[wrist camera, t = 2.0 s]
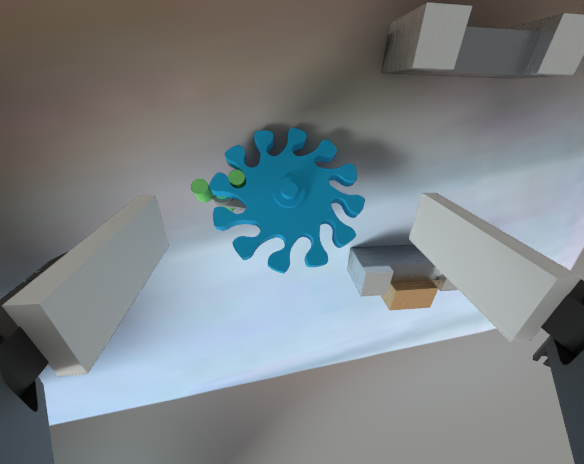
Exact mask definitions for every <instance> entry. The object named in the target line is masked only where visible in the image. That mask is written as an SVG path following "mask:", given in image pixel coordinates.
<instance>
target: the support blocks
mask: <svg viewBox="0 0 584 464" xmlns="http://www.w3.org/2000/svg"><path fill="white" fill-rule="evenodd" d="M471 9H472V6H467V5H454V4H441V3H428V2H427V3H425V4H423V5H421V6H420V7H418V8H416V9H414V10H412V11H411V12H409V13H407V14H405V15H403V16H402V17H400V18H398V19H396V20H394V21H392V22H391V23H390V27H389V33H388V39H387V44H386V50H385V56H384V62H383V67H382V73H394V74H418V75H442V76H466V77H490V78H514V79H515V78H531V77H547V76H563V75H574V73H575V71H576V69H577V67H578V65H579V63H580V61H581V59H582V57H583V55H584V15H582V14H570V13H562V14H559V15H555V16H551V17H547V18H544V19H540V20H536V21H532V22H529V23H525V24H521V25H517V26H514V27H510V28H506V29H499V28H484V27H469V26H467V23H468V19H469V16H470V13H471ZM347 270H348V272H349V274H350V276H351V278H352V280H353V282H354V284H355V286H356V288H357V290H358V292H359V294H360V296H375V295H381V297H382V299H383V300H384V302H385V304H386V305H387V307H388V309H389V310H401V309H415V308H428V307H430V306H431V304H432V302H433V299H434V297H435V295H436V292H437V290H438V288H439V290H440V291H450V290H458V289H457V288H456V287H455V285H454V284H453V283H452V282H451V281H450V280H449V279H448V278H447V277H446V276H445V275H444V274H443V273H442V272H441V271H440V270H439V269H438V268H437V267H436V266H435V265H434V264H433V263H432V262H431V261H430V260H429V259H428V258H427V257H426V256H425V255H424V254H423V253H422V252H421V251H420V250H419V249H418V248H417V247H416V246H415V245H402V246H379V247H356V248H351V250H350V256H349V262H348V267H347Z"/></svg>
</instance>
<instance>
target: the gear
mask: <svg viewBox="0 0 584 464" xmlns="http://www.w3.org/2000/svg"><path fill="white" fill-rule="evenodd" d="M273 137H274V136H273V133H272V131H256V132H255V134H254V140H255V146H256V148H257V149H258V151H259V153H260V162H259V164H258V165H257V166H256V167H252V168H251V167H248V166H246V165H245V163H246V156H245V150H244V148H243V147H242V146H240V145H237V146H234V147H232V148H230V149H229V150H227V151H226V152H225V156H226V160H227V163H228V164H229V166H231V167H233V168H235V169H236V170H233V171H232V172H230V174H229V176H228V177H227V176H226V175H225V174H223V173H217V174H215V176H214V177H213V178H212V180H211V182H210V185H208V183H207V182H206V181H205V180H204V179H197V180H195V181H193V182H192V184H191V190H192V191H193V193H194V194H195V196H196V197H197V198H198V200H199V201H201V202H208V201H210V200H211V199H213V200H214V202H215V203H216V204H217V205H219V206H222V207H216V208H214V211H213V221H214V226H215V227H216V229H217V230H221V231H224V230H228V229H229V228H231V227H233V226H235V225H239V224H250V225H256V226H258V227H259V228H260V230H261V231H260V233H259V235H258V236H256V237H246V236H241V237H238V238H236V239H235V240H234V241H233V246H234V248H235V250H236V252H237V253H238V254H239V256H240V257H241V258H242V259H243V260H247V259H249V258H251V257H252V256H253V254H254V252H255V250H256V249H257V248H258V247H259V246H260V245H261V244H262V243H263V242H265V241H267V240H270V239H272V238H275V237H278V238H281V239H282V240H283V241H284V243H285V247H284V248H283V249H282V250H279V251H277V252H274V253H273V254H271V255H270V257H269V259H268V266H269V267H270V268H271V269H273V270H275V271H277V272H280V273H283V274H284V273H285V272H286V271H287V270H288V268H289V266H290V251H291V248H292V246H293V244H294V243H295V242H296V241H297V239H298V238H300V237H307V238H308V239H310V241H311V244H312V245H311V248H310V250H309V251H308V253H307V254H306V256H305V264H306V266H307V267H319V266H323V265H325V264H327V262H328V255H327V253H326V251H325V250H324V249H323V247H322V245H321V242H320V236H319V232H320V225H321V224H328V225H330V226H331V227H332V230H333V235H332V240H333V243H334V244H335V246H336V247H338V248H340V247H343V246H345V245H346V244H347V243H349V242H350V241H351V240H353V239H354V237H355V236H356V233H355V231H354V230H353V229H352V228H351V227H349V226H347V225H345V224H344V223H342V222H341V221H340V220H339V219H338V218H337V216H336V215H335V213H334V211H333V209H332V206H331V203H339V204H340V205H341V206H342V208H343V210H344V212H345V213H346V215H348V216H349V217H352V218H355V217H356V216H357V215H358V214H359V213H360V212H361V211H362V209H363V206H364V203H365V199H364V198H363V197H362V196H359V195H347V194H344V193H342V192H339V191H338V190H336V189H335V188H334V187H332V186H331V185H330V183H329V180H336V181H337V182H339V183H340V184H341V185H343V186H351V185H353V184H354V182H355V181H356V180H357V172H356V169H355V166H354V165H353V164H345V165H343V166H342V167H339V168H336V169H326V168H320V167H318V166H317V165H316V164H315V162H316V161H322V162H330V161H332V160H333V159H334V157H335V155H336V153H337V149H336V147H335V146H334V145H333V143H332V142H331V141H329V140H328V139H325V140H323V141H321V143H320V144H319V146H318V147H317V149H316V150H315V151H313V152H312V153H310V154H307V155H304V156H296V155H294V154H293V151H295V150H299V149H301V148H303V147H304V145H305V142H306V137H307V134H306V133H305V132H304V131H302V130H300V129H297V128H294V127H292V128H291V129H290V130H289V132H288V139H287V146H286V147H285V149H284V150H283V151H282V152H281V153H280V154H279V155H277V156H271V155H269V154H268V152H269V151H270V150H271V148H272V147H273ZM228 178H229V179H228ZM234 209H240V210H245V211H244V212H243V213H241V214H234V213H233V212H232V211H233V210H234Z"/></svg>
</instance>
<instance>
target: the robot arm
mask: <svg viewBox="0 0 584 464" xmlns="http://www.w3.org/2000/svg"><path fill="white" fill-rule="evenodd" d="M409 240H410V241H411V242H412V243H413V244H414V245H415V246H416V247H417V248H418V249H419V250H420V251H421V252H422V253H423V254H424V255H425V256H426V257H427V258H428V259H429V260H430V261H431V262H432V263H433V264H434V265H435V266H436V267H437V268H438V269H439V270H440V271H441V272H442V273H443V274H444V275H445V276H446V277H447V278H448V279H449V280H450V281H451V282H452V283H453V284H454V285H455V287H456V288H457V289H458V290H459V291H460V292H461V293H462V294H463V295H464V296H465V297H466V298H467V299H468V300H469V301H470V302H471V303H472V304H473V305H474V306H475V307H476V308H477V309H478V310H479V311H480V312H481V313H482V314H483V315H484V316H485V317H486V318H487V319H488V320H489V321H490V322H491V323H492V324H493V325H494V326H495V327H496V328H497V329H498V330H499V331H500V332H501V333H502V334H503V335H504V336H505V337H506V338H507V339H508V340H509V341H510V342H518V341H519V342H520V341H531V340H532V339H533V338H534V336H535V335H536V334H537V333H538V331H539V330H540V329H541V328H542V329H544V330H545V331H546V332H547V333H548V334H550V336H549V337H548V338H547V340H546V341H545V342H544V343H543V344H542V346H541V347H540V348H539V349H538V350H537V352H536V353H535V354H534V355H533V360H535V361H538V360H539V359H540V357H541V356H547V357H548V359H547V360H546V361H545V362H544V363H543V364H544V365H546V366H549V367H551V371H552V375H553V379H554V383H555V387H556V391H557V395H558V398H559V403H560V407H561V411H562V415H563V419H564V423H565V427H566V431H567V434H568V439H569V442H570V446H571V450H572V454H573V458H574V462H575V464H584V281H583V280H581V278H582V277H580V276H579V275H577V274H575V273H573V272H572V271H570V270H568V269H567V268H565V267H563V266H561V265H560V264H558V263H556V262H555V261H553V260H551V259H549V258H548V257H546V256H544V255H543V254H541V253H539V252H537V251H536V250H534V249H532V248H531V247H529V246H527V245H525V244H524V243H522V242H520V241H518V240H517V239H515V238H513V237H512V236H510V235H508V234H506V233H505V232H503V231H501V230H500V229H498V228H496V227H494V226H493V225H491V224H489V223H488V222H486V221H484V220H482V219H481V218H479V217H477V216H475V215H474V214H472V213H470V212H469V211H467V210H465V209H463V208H462V207H460V206H458V205H457V204H455V203H453V202H451V201H450V200H448V199H446V198H445V197H443V196H441V195H439V194H438V193H423V194H422V197H421V200H420V204H419V207H418V210H417V213H416V217H415V220H414V223H413V226H412V229H411V233H410V236H409ZM168 247H169V244H168V240H167V236H166V233H165V229H164V225H163V222H162V218H161V214H160V211H159V207H158V203H157V200H156V196H137V197H136V198H135V199H134V200H132V201H131V202H130V203H129V204H127V205H126V206H125V207H124V208H122V209H121V210H120V211H119V212H117V213H116V214H115V215H114V216H113V217H111V218H110V219H109V220H108V221H106V222H105V223H104V224H103V225H101V226H100V227H99V228H98V229H96V230H95V231H94V232H93V233H91V234H90V235H89V236H88V237H86V238H85V239H84V240H83V241H81V242H80V243H79V244H78V245H76V246H75V247H74V248H73V249H72V250H70V251H68V252H66V253H64V254H62V255H60V256H59V257H57V258H55V259H53V260H51V261H49V262H48V263H47V264H46V265H44V266H43V267H42V268H40V269H39V270H38V272H37V273H34V274H33V275H32V276H30V277H29V278H28V279H26V282H23V283H21V284H20V285H19V286H17V287H16V288H15V289H14V290H12V291H11V292H10V293H8V294H7V295H6V296H5V297H3V298H2V299H1V300H0V464H54V460H53V453H52V445H51V437H50V430H49V422H48V415H47V407H46V400H45V393H44V385H43V383H42V382H41V380H40V379H39V378H38V376H39V374H40V373H41V372H42V371H43V369H44V368H45V367H46V366H47V364H49V365H50V367H51V368H52V369H53V370H54V372H55V373H56V374H57V375H58V376H70V375H83V374H88V373H89V371H90V370H91V368H92V367H93V365H94V364H95V362H96V360H97V359H98V357H99V356H100V354H101V353H102V351H103V349H104V348H105V346H106V345H107V343H108V341H109V340H110V338H111V337H112V335H113V334H114V332H115V330H116V329H117V327H118V326H119V324H120V322H121V321H122V319H123V318H124V316H125V315H126V313H127V311H128V310H129V308H130V307H131V305H132V304H133V302H134V300H135V299H136V297H137V296H138V294H139V292H140V291H141V289H142V288H143V286H144V285H145V283H146V281H147V280H148V278H149V277H150V275H151V273H152V272H153V270H154V269H155V267H156V266H157V264H158V262H159V261H160V259H161V258H162V256H163V254H164V253H165V251H166V250H167V248H168Z"/></svg>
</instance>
